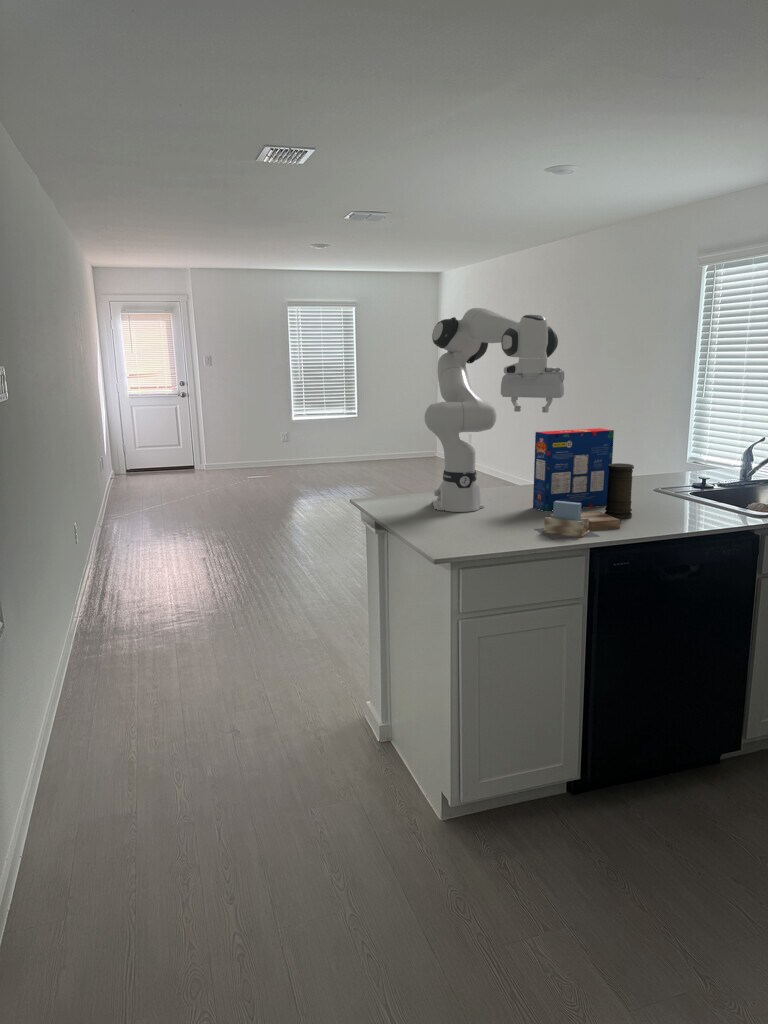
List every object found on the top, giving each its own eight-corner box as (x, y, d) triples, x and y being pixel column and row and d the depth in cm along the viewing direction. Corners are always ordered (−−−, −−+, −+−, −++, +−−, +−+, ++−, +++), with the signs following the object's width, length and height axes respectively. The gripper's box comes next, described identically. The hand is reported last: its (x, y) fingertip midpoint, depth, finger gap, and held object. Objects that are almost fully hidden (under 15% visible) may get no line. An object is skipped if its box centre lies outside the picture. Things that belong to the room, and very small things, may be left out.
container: (636, 516, 244) (639, 464, 240) (624, 520, 238) (627, 467, 234) (611, 512, 250) (614, 462, 247) (599, 516, 244) (602, 465, 240)
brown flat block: (570, 521, 238) (571, 512, 237) (598, 519, 240) (598, 510, 239) (590, 530, 224) (591, 521, 224) (619, 529, 226) (620, 519, 225)
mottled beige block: (542, 532, 222) (542, 517, 221) (550, 527, 228) (550, 513, 227) (582, 537, 215) (583, 522, 214) (590, 532, 221) (590, 518, 220)
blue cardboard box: (595, 501, 269) (599, 428, 263) (609, 505, 262) (613, 430, 256) (532, 507, 260) (535, 431, 254) (545, 512, 252) (548, 434, 246)
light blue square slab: (552, 529, 222) (553, 501, 220) (555, 528, 224) (556, 500, 222) (577, 533, 218) (578, 504, 216) (580, 531, 220) (581, 503, 218)
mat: (533, 529, 227) (533, 528, 227) (579, 526, 230) (579, 525, 230) (551, 540, 213) (551, 539, 213) (600, 537, 216) (600, 536, 216)
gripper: (568, 367, 220) (566, 412, 223) (507, 367, 231) (506, 410, 234) (561, 367, 214) (559, 413, 217) (499, 368, 225) (498, 411, 228)
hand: (531, 412), depth 226 cm, fingers open, 8 cm apart
